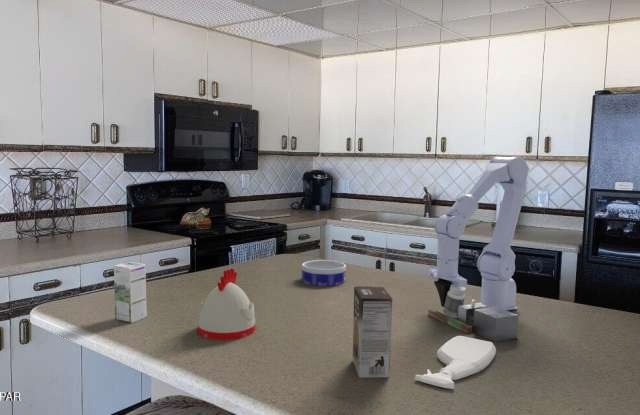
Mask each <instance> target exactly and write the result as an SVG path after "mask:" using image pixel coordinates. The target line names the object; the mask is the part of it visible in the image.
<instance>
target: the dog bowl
mask: <svg viewBox="0 0 640 415" xmlns="http://www.w3.org/2000/svg"><path fill="white" fill-rule="evenodd" d="M346 273H347V264H345V263H344V262H341V261H336V260H330V259H329V260H328V259H315V260H314V259H313V260H309V261H305V262H302V264H301V280H302V282H303V283H304V284H306V285H309V284H310V285H309V286H315V285H316V287H333V286H335V285H336V286H340V284H341V285H343V284H345V283H346V276H347V274H346Z"/></svg>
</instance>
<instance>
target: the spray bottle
mask: <svg viewBox="0 0 640 415" xmlns="http://www.w3.org/2000/svg"><path fill="white" fill-rule="evenodd" d="M496 353H497V348H496V346H495V345H494V343H493V341H492V342H491V341H489V340H483V339H477V338H473V337H469V336H463V335H457V336H454V337H452V338H451V339H449V340H448V341H446V342H445V343H443V345H441V346H440V348H439V349H437V352H436V355H437V359H438V360H439V362H442V364H444V365H446V366H445V367H442V368H441V369H440V370H439V372H435V373H432V372H431V371H430V369H429V368H428V369H427V370H426V372H427V373H426V374H425V373H424V374H422V375H421V374H415V377H414V380H416V381H418V382H421V383H425V384H428V385H432V386H436V387H441V388H444V389H452V390H454V389H455V382H454V381H457V380H460V379H463V378H466V377H469V376H471V375H474V374H477V373H479V372H481V371H482V370H485V368H486V367H488V366H489V364H491V362H492V361H493V359H494V357H495V356H496Z"/></svg>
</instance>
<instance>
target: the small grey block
mask: <svg viewBox="0 0 640 415" xmlns="http://www.w3.org/2000/svg"><path fill="white" fill-rule="evenodd" d="M475 303H476V300H475V299H471V303H470V304H463V305H462V306H459V307H458V318H457V320H458V321H461V322H463V323H465V324H467V325H470V326H472V328H474V310H475V309H483V308H488V306H486V305H483V304H480V303H481V302H477V303H478V304H475Z"/></svg>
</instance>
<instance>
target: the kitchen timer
mask: <svg viewBox="0 0 640 415" xmlns="http://www.w3.org/2000/svg"><path fill="white" fill-rule="evenodd" d="M237 276H238V272H235V268H230V269H226V270H223V276H220V277H219V278H220V282H217V283H216V284H217V286H216V287H214V288H213V289H212V290H211V291H210V293H209V294H207V297H206V298H205V301H204V302H201V303H200V307H199V309H200V310H199V311H200V314H199V318H198V321H197V322H198V323H197V332H198V334H199V335H200V336H202V337H204V338H207V339H212V340H224V341H225V340H235V339H241V338H244V337H249V336H250V335H252V334H254V332H255V331H256V316H255V306H254V302H251V301H250V299H249V297H248V296H247V294H246V293H245V292H244V290H243V289H242V288H240V287H239V286H238V285H237V284H236V281H237Z"/></svg>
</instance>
